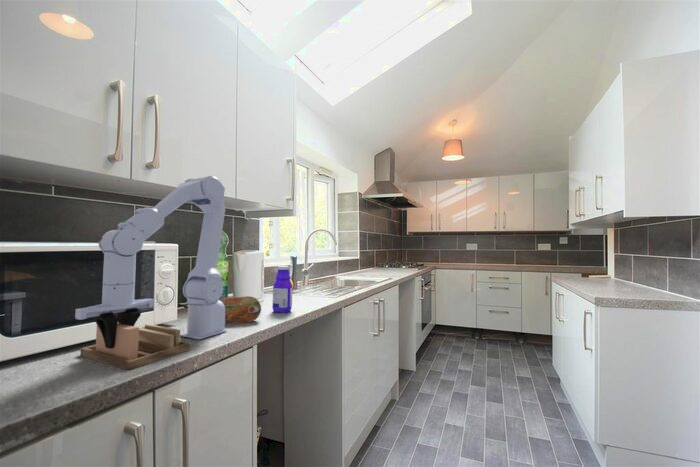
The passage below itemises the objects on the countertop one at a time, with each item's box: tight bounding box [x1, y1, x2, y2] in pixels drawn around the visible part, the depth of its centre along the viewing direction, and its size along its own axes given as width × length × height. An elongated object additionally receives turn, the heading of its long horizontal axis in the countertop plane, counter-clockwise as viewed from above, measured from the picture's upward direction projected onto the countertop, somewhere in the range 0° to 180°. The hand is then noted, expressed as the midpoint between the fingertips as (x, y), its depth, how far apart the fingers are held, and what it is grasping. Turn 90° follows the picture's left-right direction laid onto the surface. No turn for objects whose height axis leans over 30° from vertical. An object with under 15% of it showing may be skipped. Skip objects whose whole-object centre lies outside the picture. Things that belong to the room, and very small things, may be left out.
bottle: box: [272, 265, 293, 314], centre depth 117 cm, size 7×6×17 cm
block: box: [95, 323, 140, 360], centre depth 67 cm, size 2×12×7 cm, turn 65°
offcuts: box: [138, 323, 181, 348], centre depth 75 cm, size 3×14×4 cm, turn 65°
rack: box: [79, 340, 191, 371], centre depth 71 cm, size 14×18×2 cm
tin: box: [218, 295, 262, 325], centre depth 100 cm, size 15×3×8 cm, turn 106°
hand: (116, 345), depth 67 cm, fingers closed on block, 2 cm apart
